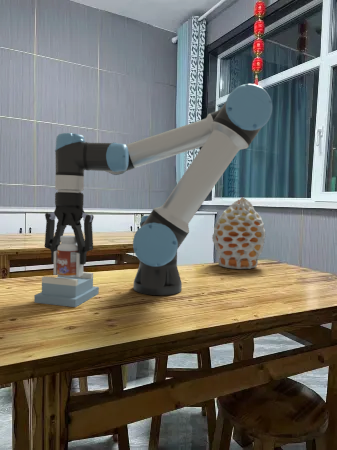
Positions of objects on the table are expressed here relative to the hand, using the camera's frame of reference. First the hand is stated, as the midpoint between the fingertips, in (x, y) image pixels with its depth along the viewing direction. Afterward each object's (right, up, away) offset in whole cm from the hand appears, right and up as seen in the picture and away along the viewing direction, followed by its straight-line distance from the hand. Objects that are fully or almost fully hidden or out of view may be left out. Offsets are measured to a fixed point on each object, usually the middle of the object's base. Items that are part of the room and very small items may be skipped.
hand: (68, 274), depth 102 cm
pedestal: (0, -7, +1) cm, 7 cm away
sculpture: (+57, -4, +55) cm, 80 cm away
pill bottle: (0, -1, 0) cm, 1 cm away
